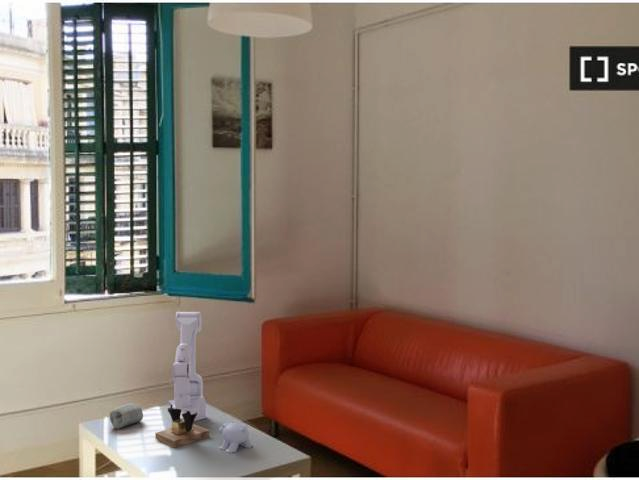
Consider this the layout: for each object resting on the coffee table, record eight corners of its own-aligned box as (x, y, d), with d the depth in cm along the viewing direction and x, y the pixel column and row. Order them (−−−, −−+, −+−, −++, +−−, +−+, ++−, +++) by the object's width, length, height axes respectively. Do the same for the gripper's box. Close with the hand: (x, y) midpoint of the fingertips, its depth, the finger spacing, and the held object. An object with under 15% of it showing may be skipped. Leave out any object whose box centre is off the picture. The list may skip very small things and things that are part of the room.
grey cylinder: (118, 425, 291) (116, 399, 295) (105, 431, 296) (104, 405, 300) (149, 425, 300) (147, 400, 304) (135, 431, 306) (134, 406, 310)
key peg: (171, 439, 285) (171, 421, 285) (185, 434, 290) (185, 416, 289) (178, 441, 283) (178, 423, 282) (192, 437, 287) (192, 419, 287)
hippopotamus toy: (234, 437, 288) (234, 412, 287) (258, 448, 277) (258, 422, 276) (210, 444, 281) (209, 418, 280) (233, 455, 270) (233, 429, 269)
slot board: (190, 428, 296) (190, 422, 296) (209, 436, 288) (209, 430, 288) (155, 439, 285) (155, 432, 285) (174, 447, 277) (174, 441, 276)
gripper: (161, 391, 287) (162, 426, 288) (184, 399, 277) (185, 435, 278) (177, 387, 292) (177, 421, 293) (200, 395, 282) (200, 431, 283)
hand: (182, 428), depth 286 cm, fingers open, 7 cm apart
